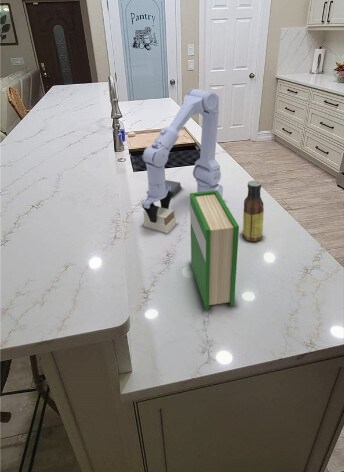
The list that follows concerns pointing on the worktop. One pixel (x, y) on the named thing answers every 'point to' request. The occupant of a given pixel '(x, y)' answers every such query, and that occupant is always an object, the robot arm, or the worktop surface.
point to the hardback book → (213, 247)
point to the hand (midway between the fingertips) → (159, 216)
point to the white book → (162, 215)
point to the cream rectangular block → (160, 225)
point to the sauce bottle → (253, 213)
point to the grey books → (174, 186)
